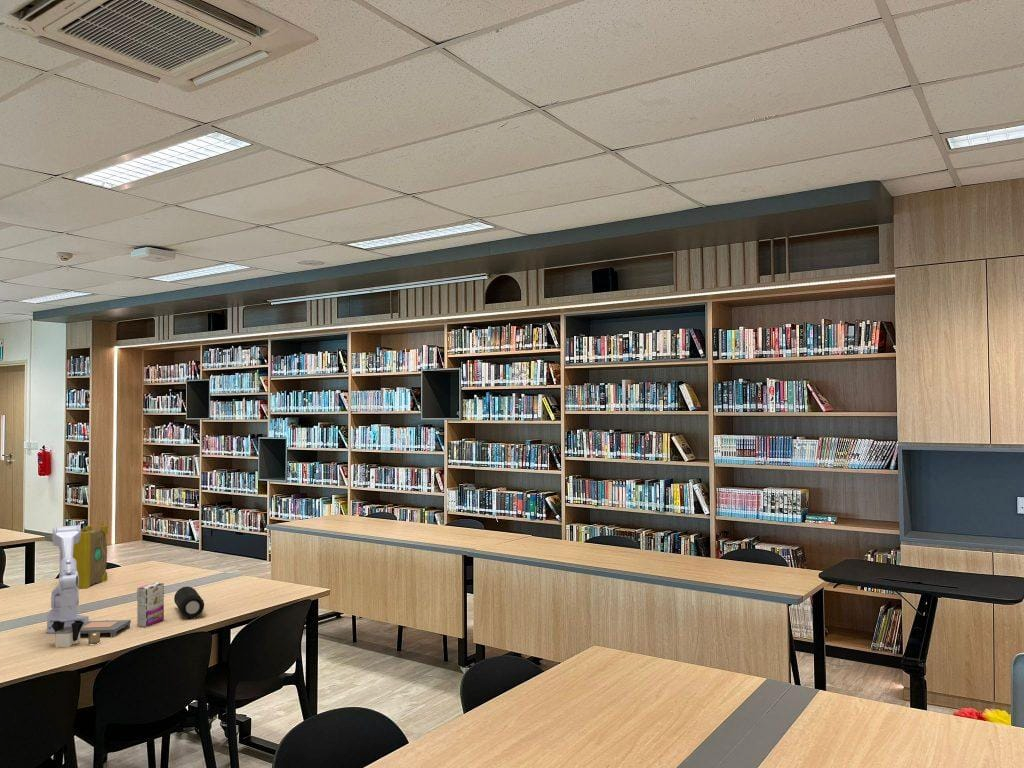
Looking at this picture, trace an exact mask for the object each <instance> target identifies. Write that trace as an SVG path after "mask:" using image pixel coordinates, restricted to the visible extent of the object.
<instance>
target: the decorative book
mask: <svg viewBox="0 0 1024 768" xmlns="http://www.w3.org/2000/svg"><path fill="white" fill-rule="evenodd" d="M108 527H109V526H108V525H100V527H99V529H97V530H92V529H93V526H92V525H86V526H84V527H83V528H81V536H80V540H79V542H78V543H77V544H74V546H73V558H74V559H75V560H76V565H77V572H78V576H79V585H78V589H86V588H90V587H91V586H92V585H94V584H97V583H98V584H99V583H104V582H103V581H105V580H107V581H108V572H107V563H108V543H107V534H108V533H109V532H108V531H109V529H108ZM105 582H106V581H105ZM76 587H77V584H76Z"/></svg>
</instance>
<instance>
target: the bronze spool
mask: <svg viewBox="0 0 1024 768" xmlns="http://www.w3.org/2000/svg"><path fill="white" fill-rule="evenodd" d="M87 635H88V636H87V637H88V642H87V643H88V644H97V643H99V642H100V643H101V633H100V632H92V633H87ZM100 643H99V644H100ZM88 644H87V645H88ZM97 645H98V644H97Z"/></svg>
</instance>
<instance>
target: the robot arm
mask: <svg viewBox="0 0 1024 768" xmlns="http://www.w3.org/2000/svg"><path fill="white" fill-rule="evenodd" d="M81 529H82V528H81V526H80V525H79V524H77V525H76V524H75V525H65V526H53V528H52V544H53V546H56V547H58V550H59V577H58V585H57V586H56V587H55V588H53V589H52V590H51V596H50V608H51V609H50V610H49V611H48V613H47V616H46V631H45V634H53V633H54V634H56V632H57V631H59V630H61V629H62V628H64V627H66V626H72V630H73V641H76V640H78V635H79V632H80V630H81V627H82V626H83V624H84V622H87V621H90V620H89V615H84V614H83V615H81V614H78V613H77V612H78V609H77V608H78V606H79V603H80V592H79V588H78V585H79V576H78V572H77V565H76V560H75V559H74V558H73V546H74V544H77V543H78V542H79V540H80V536H81ZM76 584H77V587H76Z"/></svg>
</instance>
